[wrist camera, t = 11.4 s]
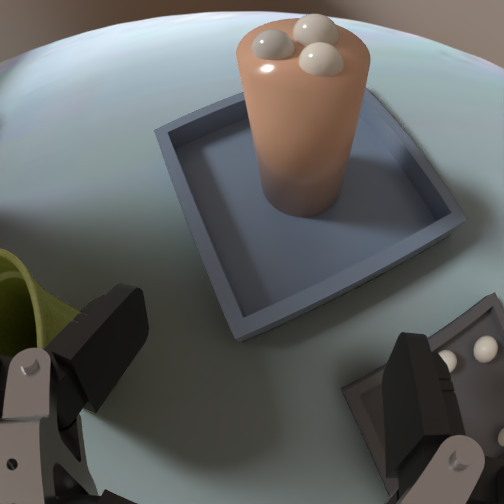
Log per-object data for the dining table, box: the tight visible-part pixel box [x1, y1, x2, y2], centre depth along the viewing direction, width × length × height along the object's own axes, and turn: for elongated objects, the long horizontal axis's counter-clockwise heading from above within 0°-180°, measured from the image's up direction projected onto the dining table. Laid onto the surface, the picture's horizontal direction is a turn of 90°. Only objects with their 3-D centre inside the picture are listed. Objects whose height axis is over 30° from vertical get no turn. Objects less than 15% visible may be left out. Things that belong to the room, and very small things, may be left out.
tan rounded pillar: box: [236, 14, 370, 217], centre depth 14 cm, size 5×5×11 cm
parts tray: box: [341, 293, 504, 496], centre depth 13 cm, size 11×11×2 cm
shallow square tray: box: [154, 87, 467, 342], centre depth 19 cm, size 15×15×2 cm
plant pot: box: [0, 249, 81, 357], centre depth 14 cm, size 9×9×9 cm
